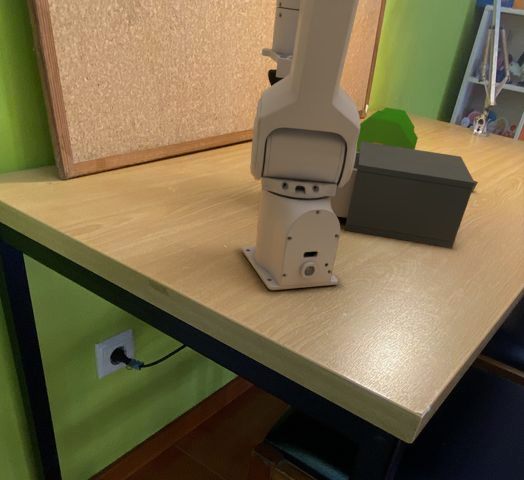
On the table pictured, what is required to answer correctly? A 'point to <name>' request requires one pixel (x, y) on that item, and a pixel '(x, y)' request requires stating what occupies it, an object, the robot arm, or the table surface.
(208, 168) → the table surface
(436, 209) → the cabinet
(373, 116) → the decorative tree
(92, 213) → the table surface
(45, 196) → the table surface
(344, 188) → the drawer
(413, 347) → the table surface
